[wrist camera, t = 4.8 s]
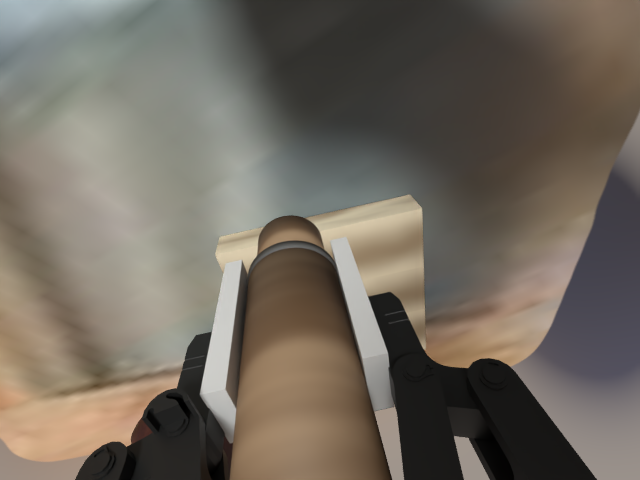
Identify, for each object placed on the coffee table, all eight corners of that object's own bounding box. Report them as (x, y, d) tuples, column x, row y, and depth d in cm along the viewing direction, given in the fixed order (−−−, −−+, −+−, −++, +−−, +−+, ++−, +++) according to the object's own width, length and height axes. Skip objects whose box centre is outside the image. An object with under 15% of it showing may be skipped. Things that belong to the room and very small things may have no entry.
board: (219, 236, 32) (215, 254, 29) (410, 194, 32) (422, 208, 29) (269, 362, 41) (269, 384, 39) (416, 329, 41) (426, 348, 39)
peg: (241, 219, 17) (171, 641, 5) (321, 201, 17) (430, 583, 5) (263, 281, 19) (248, 680, 7) (334, 266, 19) (432, 639, 7)
